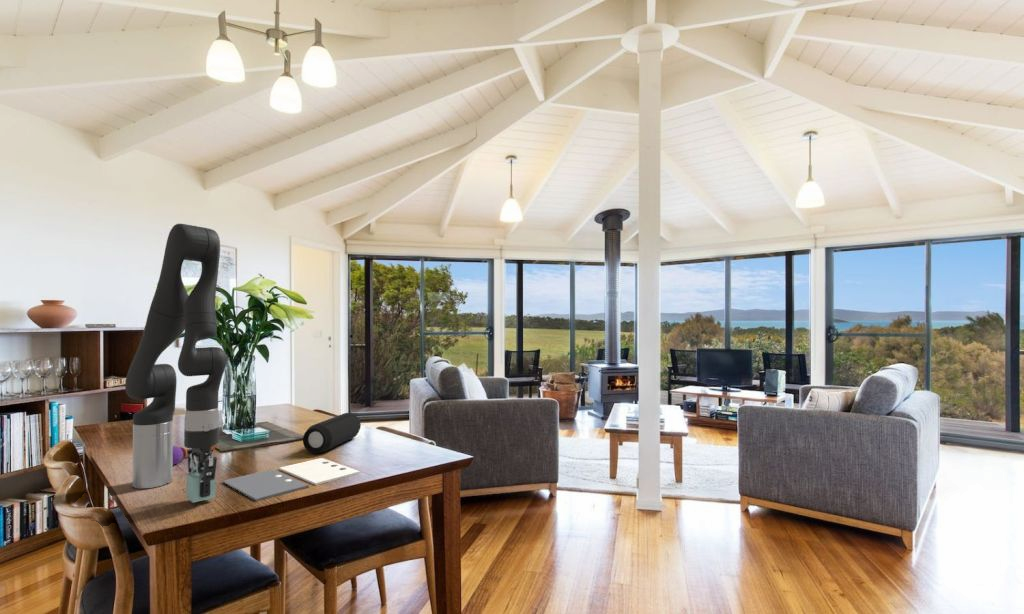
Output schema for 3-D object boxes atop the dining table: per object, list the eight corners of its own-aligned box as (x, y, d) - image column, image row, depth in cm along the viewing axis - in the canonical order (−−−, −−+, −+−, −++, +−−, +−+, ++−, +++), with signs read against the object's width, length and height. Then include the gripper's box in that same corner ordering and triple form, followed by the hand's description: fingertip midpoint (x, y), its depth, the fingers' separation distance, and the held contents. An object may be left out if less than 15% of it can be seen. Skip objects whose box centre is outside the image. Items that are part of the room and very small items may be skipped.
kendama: (220, 439, 179) (174, 450, 159) (216, 456, 178) (170, 469, 159) (205, 436, 180) (158, 446, 160) (201, 453, 179) (153, 465, 160)
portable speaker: (339, 437, 199) (339, 411, 199) (363, 438, 197) (363, 412, 197) (300, 454, 174) (300, 425, 174) (327, 456, 172) (327, 426, 172)
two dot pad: (222, 482, 145) (222, 480, 145) (272, 471, 155) (272, 469, 155) (256, 501, 130) (256, 498, 130) (308, 487, 141) (308, 484, 141)
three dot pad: (278, 469, 157) (279, 467, 157) (321, 459, 167) (321, 457, 167) (315, 485, 142) (315, 482, 142) (359, 473, 153) (359, 471, 153)
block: (186, 497, 130) (186, 473, 130) (208, 492, 134) (208, 469, 134) (193, 502, 126) (193, 478, 127) (215, 497, 130) (215, 473, 130)
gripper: (175, 424, 132) (174, 490, 132) (195, 433, 123) (194, 505, 122) (208, 420, 138) (207, 483, 138) (228, 428, 128) (227, 496, 128)
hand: (200, 493), depth 130 cm, fingers closed on block, 5 cm apart
